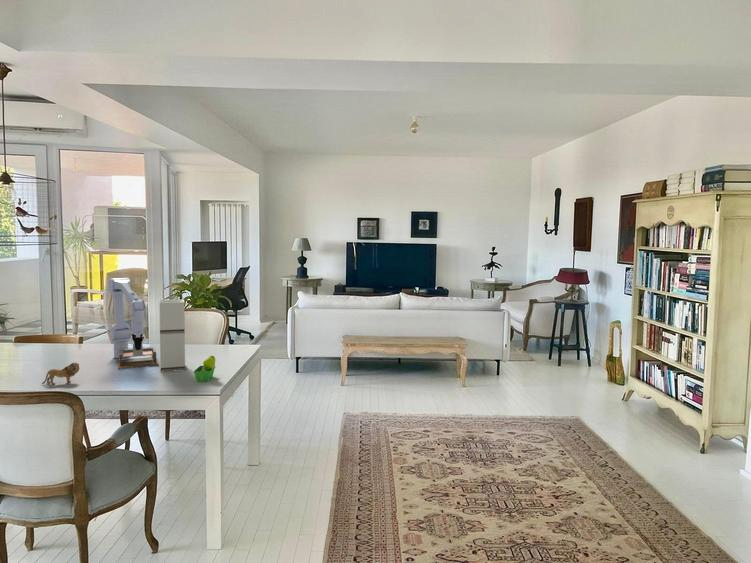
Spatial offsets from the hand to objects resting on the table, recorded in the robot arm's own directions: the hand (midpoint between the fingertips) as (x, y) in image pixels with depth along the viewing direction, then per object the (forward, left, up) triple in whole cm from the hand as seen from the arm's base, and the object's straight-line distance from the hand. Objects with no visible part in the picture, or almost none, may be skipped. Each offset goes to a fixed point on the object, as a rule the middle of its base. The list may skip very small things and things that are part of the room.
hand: (137, 348), depth 261 cm
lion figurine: (+23, -32, -9) cm, 40 cm away
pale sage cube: (0, 0, -3) cm, 3 cm away
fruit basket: (+42, +28, -9) cm, 51 cm away
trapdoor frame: (-1, 0, -8) cm, 8 cm away
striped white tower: (+16, +16, -9) cm, 24 cm away
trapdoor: (-3, 0, -5) cm, 5 cm away
